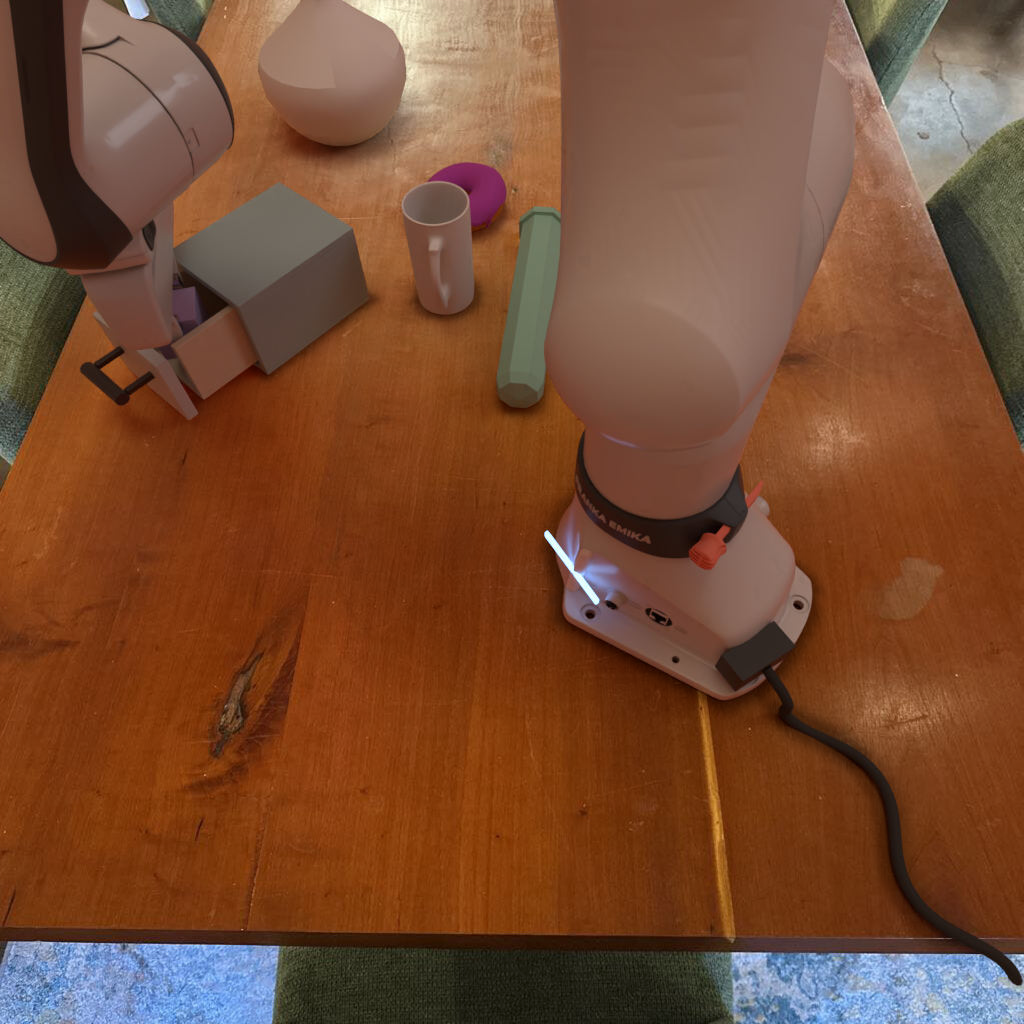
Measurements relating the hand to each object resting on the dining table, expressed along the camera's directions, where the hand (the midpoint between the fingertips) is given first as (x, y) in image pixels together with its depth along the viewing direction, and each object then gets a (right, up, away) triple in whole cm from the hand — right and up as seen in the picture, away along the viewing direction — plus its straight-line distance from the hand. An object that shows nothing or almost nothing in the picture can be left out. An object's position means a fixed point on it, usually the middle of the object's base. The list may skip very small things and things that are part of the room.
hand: (175, 311), depth 73 cm
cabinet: (+7, +3, +11) cm, 14 cm away
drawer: (-1, -4, +6) cm, 7 cm away
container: (+34, +1, +10) cm, 36 cm away
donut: (+27, +17, +19) cm, 37 cm away
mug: (+25, +3, +11) cm, 28 cm away
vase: (+10, +33, +29) cm, 45 cm away
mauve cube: (0, -2, +3) cm, 4 cm away
